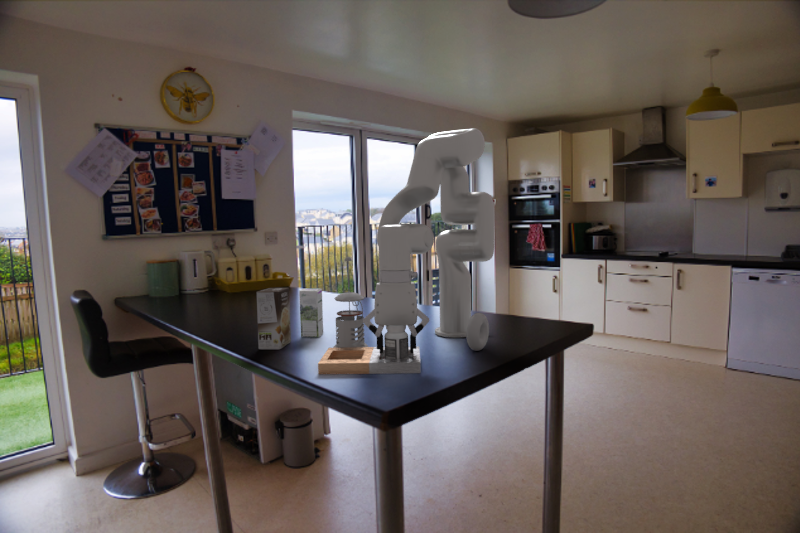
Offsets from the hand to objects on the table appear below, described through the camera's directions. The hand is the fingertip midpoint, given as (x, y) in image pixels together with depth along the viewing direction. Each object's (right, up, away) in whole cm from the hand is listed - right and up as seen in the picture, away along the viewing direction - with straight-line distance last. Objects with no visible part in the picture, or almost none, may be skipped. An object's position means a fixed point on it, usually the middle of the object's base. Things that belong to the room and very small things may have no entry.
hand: (396, 351), depth 112 cm
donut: (+21, -2, +12) cm, 24 cm away
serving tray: (-6, -3, 0) cm, 7 cm away
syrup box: (-26, -1, +33) cm, 42 cm away
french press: (-13, -2, +19) cm, 22 cm away
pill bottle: (0, -3, 0) cm, 3 cm away
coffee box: (-34, -2, +21) cm, 40 cm away
